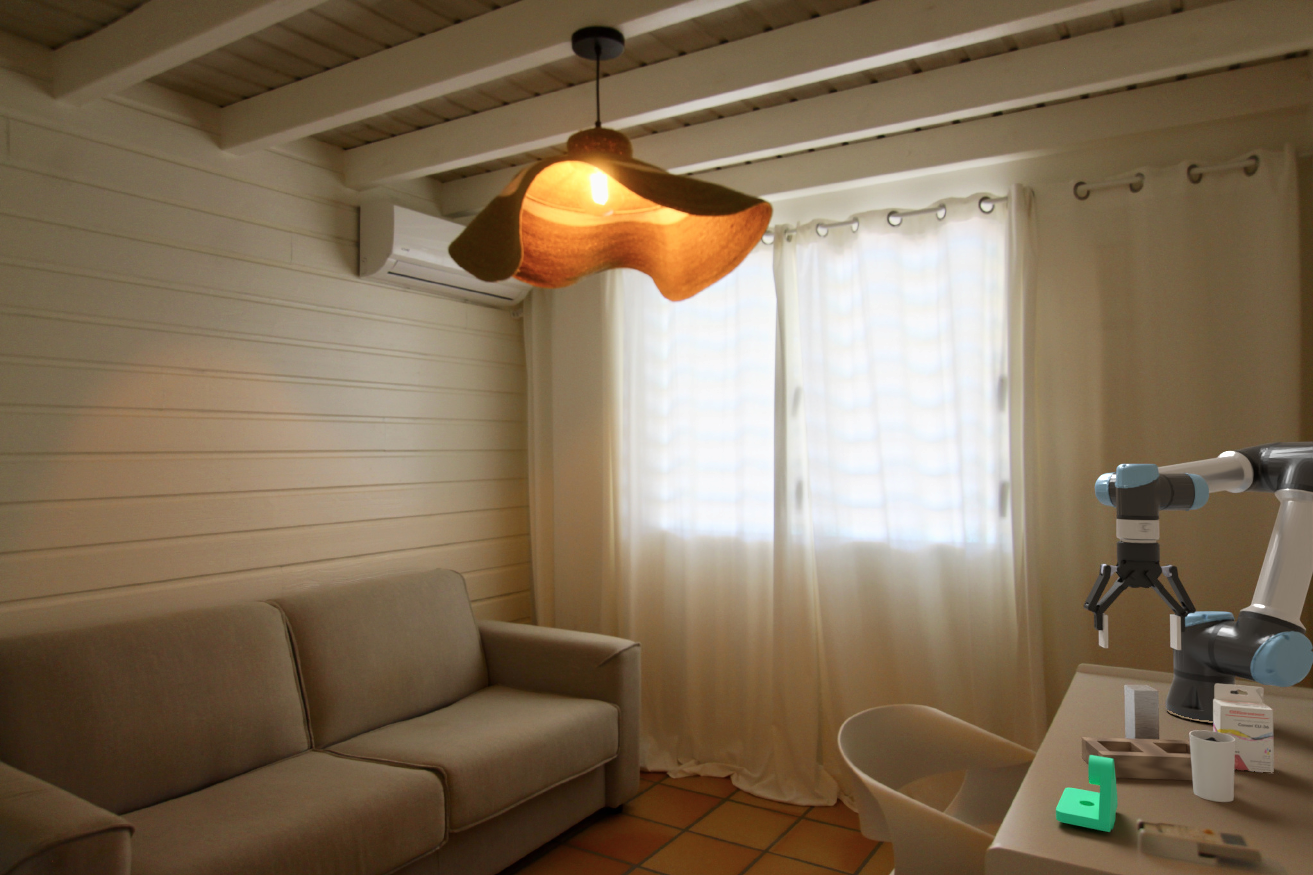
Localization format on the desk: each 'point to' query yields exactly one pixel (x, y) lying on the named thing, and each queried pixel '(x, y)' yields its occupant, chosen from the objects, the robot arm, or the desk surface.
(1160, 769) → the brown holed block
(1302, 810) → the desk surface
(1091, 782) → the camera mount
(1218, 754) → the white cup
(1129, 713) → the steel peg
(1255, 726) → the ink cartridge box
